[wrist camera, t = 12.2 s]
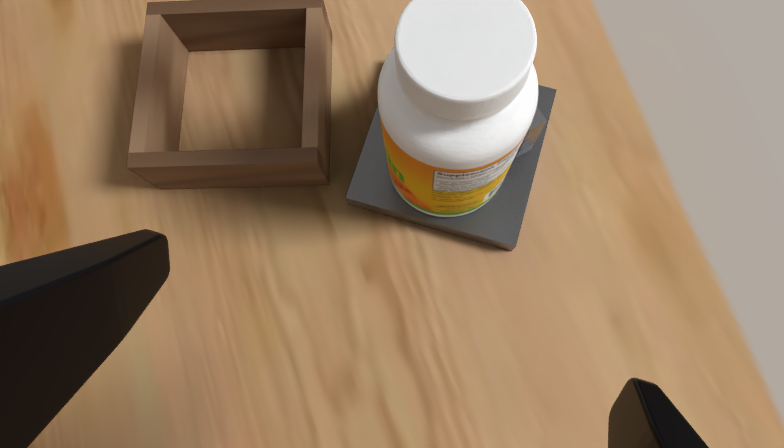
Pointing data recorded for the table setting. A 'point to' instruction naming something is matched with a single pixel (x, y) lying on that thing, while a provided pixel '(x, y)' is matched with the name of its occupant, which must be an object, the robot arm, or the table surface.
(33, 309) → the robot arm
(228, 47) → the block
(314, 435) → the table surface
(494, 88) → the supplement bottle
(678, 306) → the table surface
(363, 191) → the v-block
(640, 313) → the table surface
